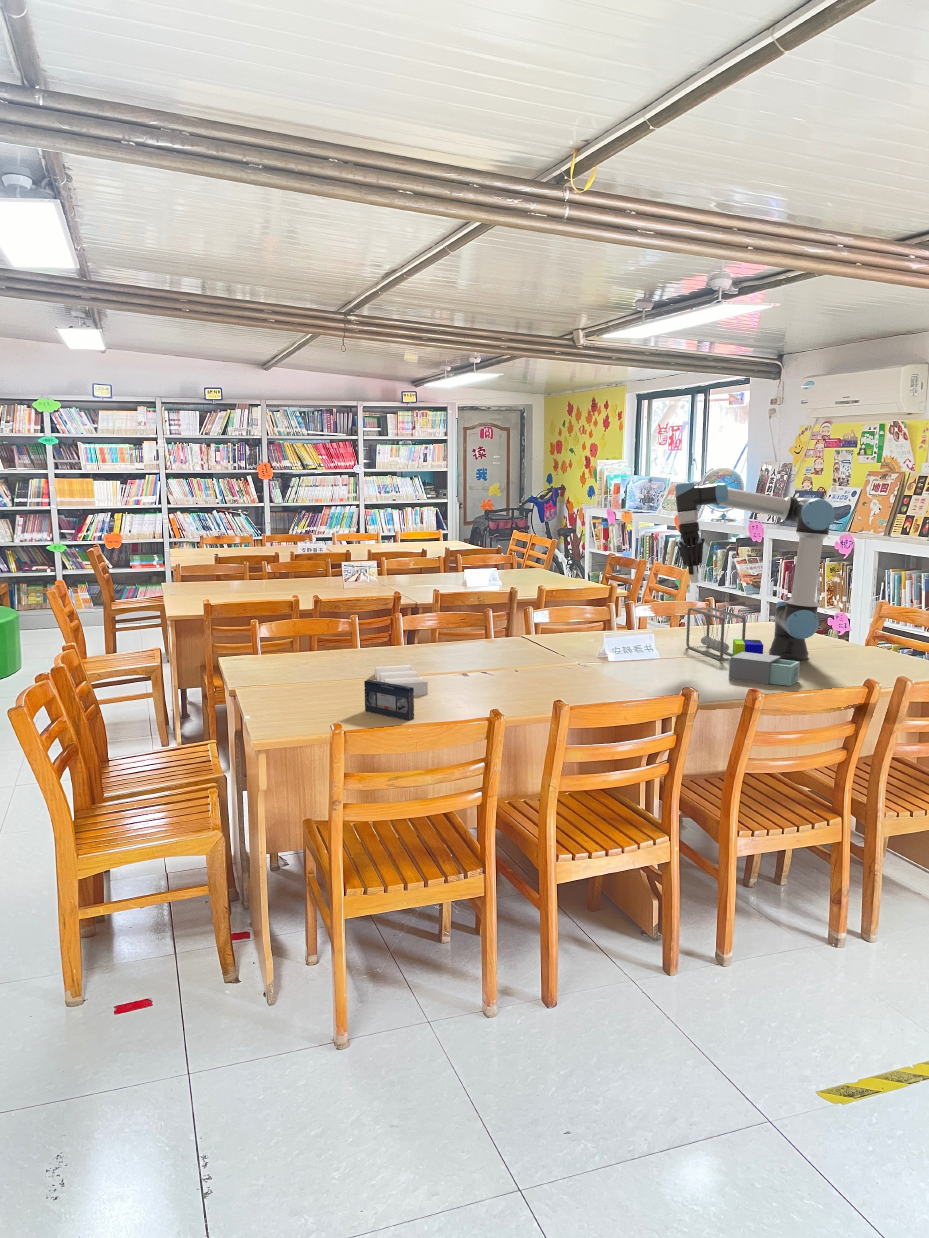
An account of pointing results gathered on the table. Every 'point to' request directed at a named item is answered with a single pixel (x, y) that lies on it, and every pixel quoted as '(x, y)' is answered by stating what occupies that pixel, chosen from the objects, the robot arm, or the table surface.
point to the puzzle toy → (747, 646)
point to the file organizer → (402, 678)
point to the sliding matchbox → (782, 672)
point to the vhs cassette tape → (389, 699)
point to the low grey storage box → (751, 667)
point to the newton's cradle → (709, 641)
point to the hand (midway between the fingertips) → (694, 582)
